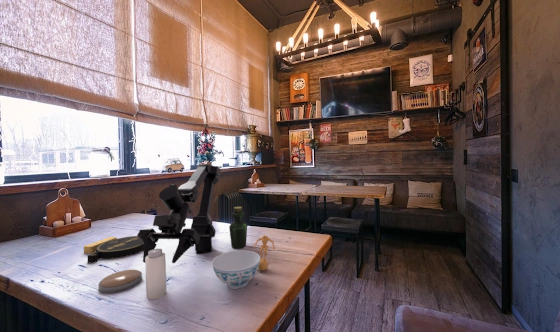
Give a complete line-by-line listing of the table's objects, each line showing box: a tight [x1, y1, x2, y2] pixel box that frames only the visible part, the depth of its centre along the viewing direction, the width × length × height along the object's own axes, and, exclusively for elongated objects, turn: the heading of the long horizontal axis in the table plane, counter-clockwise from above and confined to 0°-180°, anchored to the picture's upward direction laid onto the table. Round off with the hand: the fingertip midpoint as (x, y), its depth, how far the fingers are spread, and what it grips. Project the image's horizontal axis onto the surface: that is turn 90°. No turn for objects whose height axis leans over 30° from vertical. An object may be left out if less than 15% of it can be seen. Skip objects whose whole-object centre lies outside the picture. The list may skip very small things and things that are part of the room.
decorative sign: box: [83, 235, 144, 264], centre depth 105 cm, size 29×3×25 cm
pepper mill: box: [144, 248, 167, 301], centre depth 68 cm, size 5×5×13 cm
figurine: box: [253, 234, 276, 272], centre depth 83 cm, size 8×6×12 cm
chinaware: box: [211, 249, 261, 290], centre depth 73 cm, size 15×15×8 cm
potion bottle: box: [229, 206, 248, 250], centre depth 105 cm, size 8×8×18 cm
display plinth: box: [98, 269, 143, 294], centre depth 75 cm, size 12×12×2 cm
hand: (158, 262), depth 69 cm, fingers open, 9 cm apart
